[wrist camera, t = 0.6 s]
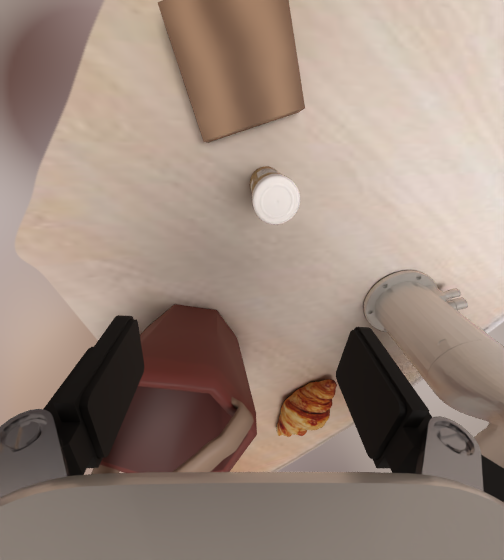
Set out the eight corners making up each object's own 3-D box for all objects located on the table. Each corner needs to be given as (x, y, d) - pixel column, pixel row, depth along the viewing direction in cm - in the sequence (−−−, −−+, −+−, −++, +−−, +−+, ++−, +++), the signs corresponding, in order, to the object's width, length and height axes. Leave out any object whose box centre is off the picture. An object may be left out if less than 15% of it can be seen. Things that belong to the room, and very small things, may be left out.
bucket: (156, 388, 54) (95, 552, 32) (101, 306, 44) (-41, 465, 22) (265, 364, 52) (280, 526, 30) (234, 273, 42) (223, 414, 20)
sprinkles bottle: (244, 191, 36) (244, 213, 24) (258, 159, 34) (266, 166, 22) (272, 205, 37) (286, 233, 25) (288, 175, 35) (310, 189, 23)
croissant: (285, 415, 66) (302, 448, 60) (256, 424, 59) (272, 461, 54) (335, 365, 57) (360, 398, 52) (307, 369, 50) (332, 406, 45)
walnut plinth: (276, -21, 26) (281, -48, 22) (298, 112, 31) (305, 107, 28) (169, 21, 27) (157, 2, 24) (208, 142, 33) (203, 141, 29)
